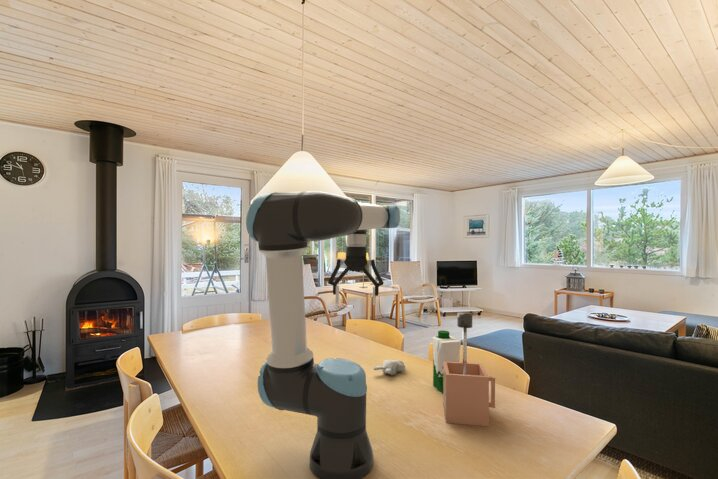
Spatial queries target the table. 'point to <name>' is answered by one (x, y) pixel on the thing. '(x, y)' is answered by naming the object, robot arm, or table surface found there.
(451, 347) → the soya milk
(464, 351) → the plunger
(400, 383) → the table surface
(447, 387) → the square pink mug
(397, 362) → the bunny figurine
